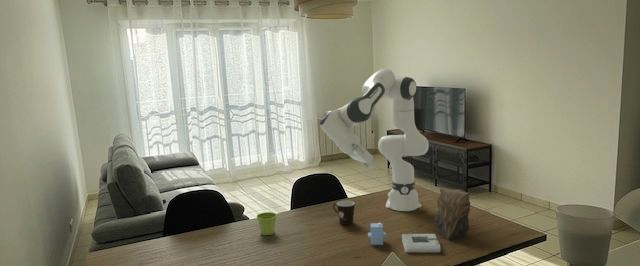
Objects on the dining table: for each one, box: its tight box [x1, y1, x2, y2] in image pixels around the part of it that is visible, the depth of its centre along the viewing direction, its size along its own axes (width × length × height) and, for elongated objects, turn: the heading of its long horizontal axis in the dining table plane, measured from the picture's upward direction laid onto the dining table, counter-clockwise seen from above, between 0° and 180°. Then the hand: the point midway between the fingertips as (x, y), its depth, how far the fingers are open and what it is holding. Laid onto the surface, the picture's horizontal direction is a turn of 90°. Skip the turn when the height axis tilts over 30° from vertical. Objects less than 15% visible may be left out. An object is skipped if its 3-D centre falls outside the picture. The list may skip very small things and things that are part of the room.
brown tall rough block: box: [434, 188, 471, 242], centre depth 197 cm, size 13×13×20 cm
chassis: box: [401, 233, 441, 253], centre depth 186 cm, size 12×14×3 cm
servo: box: [367, 222, 387, 246], centre depth 191 cm, size 4×8×9 cm, turn 86°
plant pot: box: [256, 211, 278, 236], centre depth 206 cm, size 9×9×9 cm
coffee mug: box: [332, 200, 356, 226], centre depth 216 cm, size 12×9×10 cm
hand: (370, 166), depth 189 cm, fingers open, 8 cm apart
